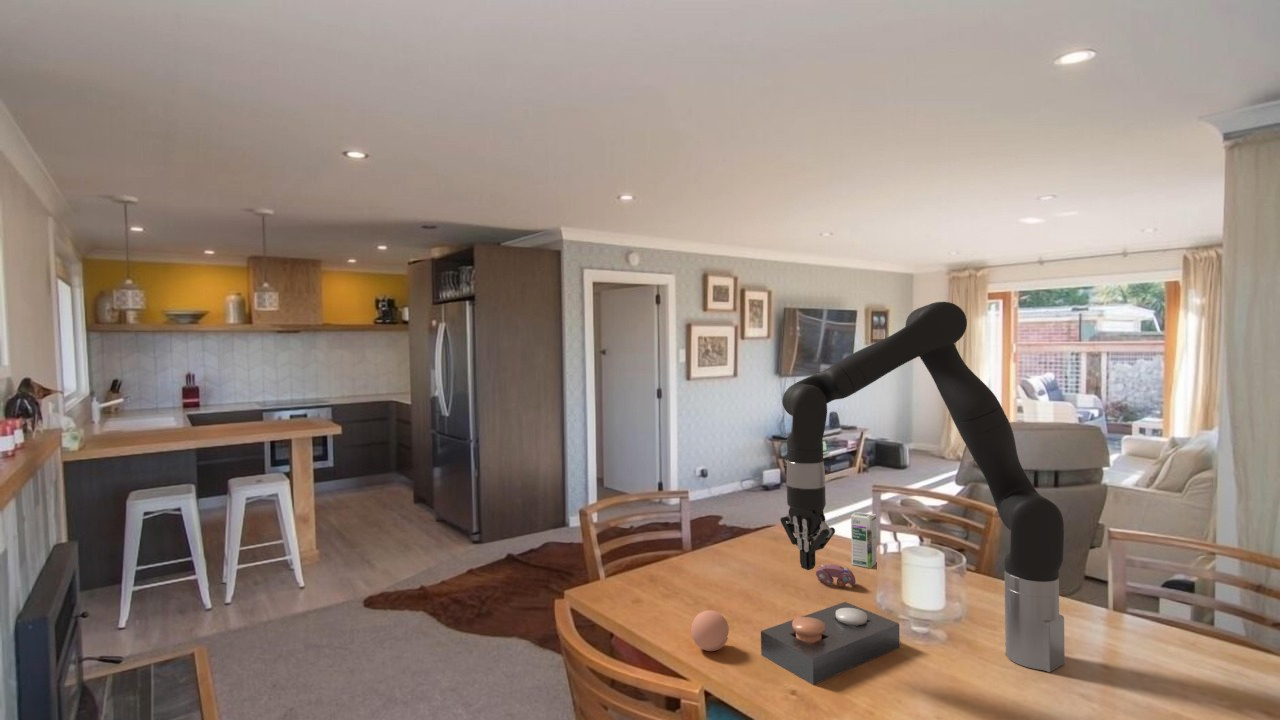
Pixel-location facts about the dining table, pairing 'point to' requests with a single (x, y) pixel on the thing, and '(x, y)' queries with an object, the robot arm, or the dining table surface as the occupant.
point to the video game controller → (835, 575)
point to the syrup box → (863, 539)
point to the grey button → (851, 616)
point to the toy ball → (710, 630)
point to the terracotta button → (808, 629)
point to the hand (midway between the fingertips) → (807, 568)
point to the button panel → (830, 644)
